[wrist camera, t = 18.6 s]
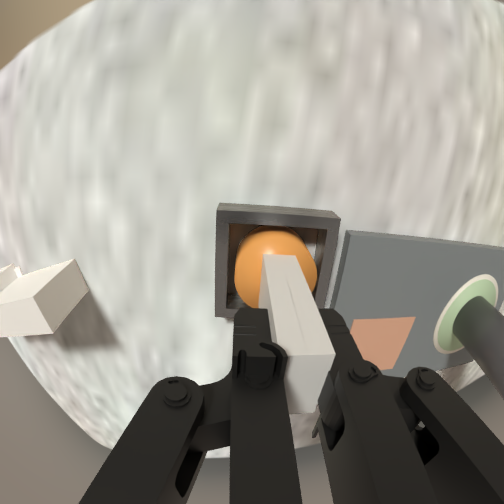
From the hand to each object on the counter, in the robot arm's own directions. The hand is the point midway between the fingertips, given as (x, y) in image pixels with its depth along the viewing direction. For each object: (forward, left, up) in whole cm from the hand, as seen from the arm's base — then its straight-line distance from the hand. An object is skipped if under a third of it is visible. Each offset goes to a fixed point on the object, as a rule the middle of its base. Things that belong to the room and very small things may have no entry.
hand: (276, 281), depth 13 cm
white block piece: (+18, +3, -3) cm, 19 cm away
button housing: (0, 0, -3) cm, 3 cm away
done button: (0, 0, -4) cm, 4 cm away
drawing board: (-13, +4, -3) cm, 14 cm away
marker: (-17, +4, -2) cm, 18 cm away
